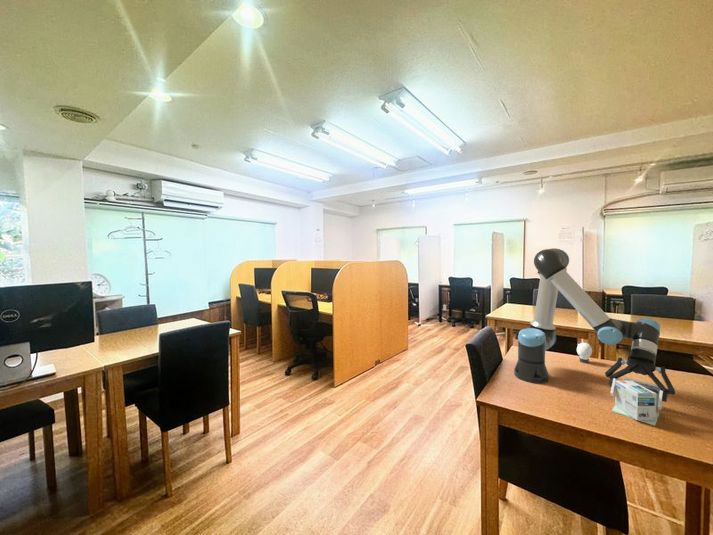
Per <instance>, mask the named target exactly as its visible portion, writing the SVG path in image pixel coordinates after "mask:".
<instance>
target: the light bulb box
mask: <svg viewBox="0 0 713 535" xmlns="http://www.w3.org/2000/svg"><path fill="white" fill-rule="evenodd" d="M656 396H657V393H655V392H653V391H651V390H649V389H647V388H645V387H643V386H641V385H639V384H637V383H635V382H634V381H624V380H620V379H619V380H618V379H616V388H615V393H614V398H615V399H614V406H617V407H618V408H620V409H621V410H623V411H624V412H626V413H627V414H629V415H630V416H631V417H633V418H634V419H633V420H636V421H639V420H644V421H656V412H657V409H656Z"/></svg>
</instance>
